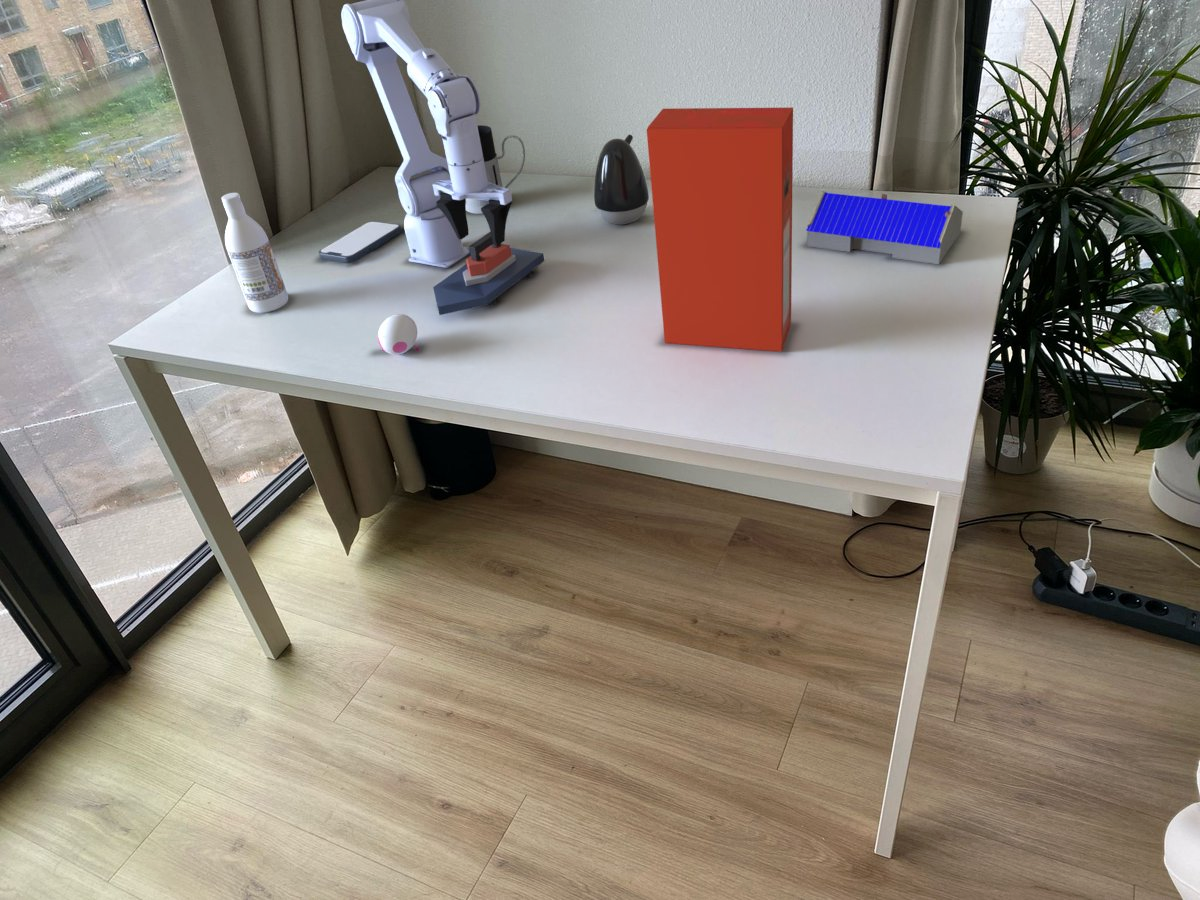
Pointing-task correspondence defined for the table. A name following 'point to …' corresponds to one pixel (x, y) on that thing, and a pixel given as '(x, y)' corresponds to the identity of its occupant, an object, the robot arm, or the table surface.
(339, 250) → the smartphone with white screen
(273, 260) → the bath foam
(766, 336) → the file binder
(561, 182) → the table surface
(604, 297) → the table surface
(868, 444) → the table surface
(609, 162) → the black egg-shaped figure
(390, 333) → the stress ball
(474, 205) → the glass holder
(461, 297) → the ironing board
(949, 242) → the blue roofed model house
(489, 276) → the iron
